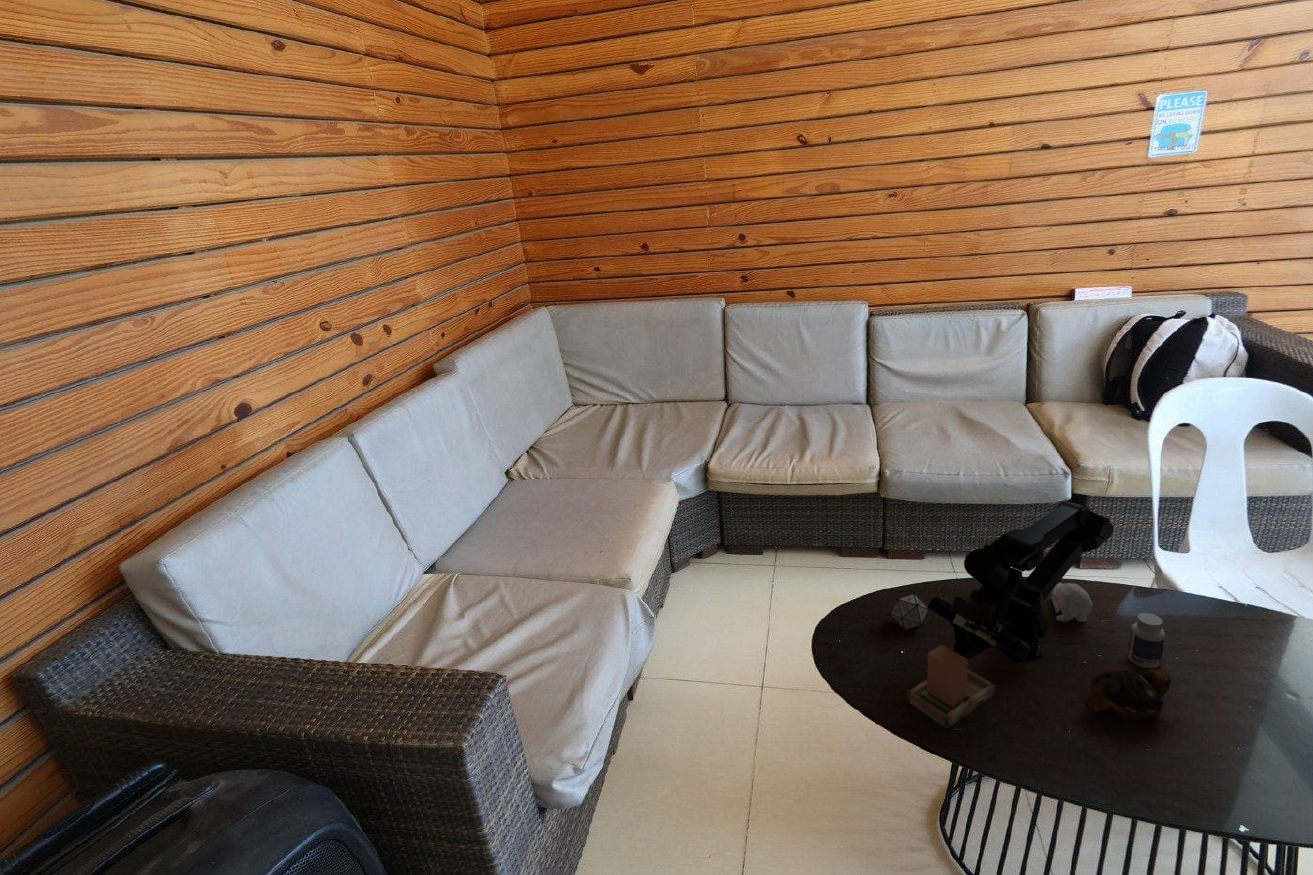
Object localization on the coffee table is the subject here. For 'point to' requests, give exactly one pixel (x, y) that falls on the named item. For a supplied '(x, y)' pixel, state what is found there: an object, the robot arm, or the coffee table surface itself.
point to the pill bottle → (1146, 641)
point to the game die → (909, 611)
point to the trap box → (944, 713)
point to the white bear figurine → (1071, 602)
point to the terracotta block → (947, 675)
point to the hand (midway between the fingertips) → (955, 665)
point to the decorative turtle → (1128, 694)
